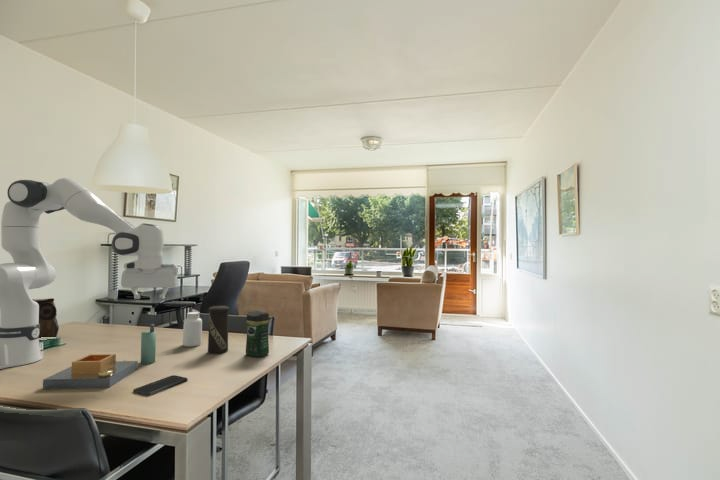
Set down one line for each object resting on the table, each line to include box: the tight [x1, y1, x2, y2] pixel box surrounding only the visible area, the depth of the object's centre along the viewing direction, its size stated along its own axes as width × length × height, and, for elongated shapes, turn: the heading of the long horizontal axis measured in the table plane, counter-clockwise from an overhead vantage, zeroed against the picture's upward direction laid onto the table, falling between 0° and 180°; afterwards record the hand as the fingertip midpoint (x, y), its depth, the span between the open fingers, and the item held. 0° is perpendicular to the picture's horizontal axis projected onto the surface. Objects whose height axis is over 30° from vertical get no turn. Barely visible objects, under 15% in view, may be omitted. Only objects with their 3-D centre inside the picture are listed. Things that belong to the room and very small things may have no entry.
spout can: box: [140, 323, 157, 365], centre depth 143 cm, size 5×5×15 cm
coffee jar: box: [245, 310, 270, 358], centre depth 155 cm, size 10×8×19 cm
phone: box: [132, 374, 189, 397], centre depth 119 cm, size 8×1×15 cm
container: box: [207, 305, 230, 355], centre depth 159 cm, size 9×9×20 cm
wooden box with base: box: [42, 353, 139, 390], centre depth 125 cm, size 20×18×7 cm
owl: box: [31, 297, 60, 338], centre depth 177 cm, size 13×13×20 cm
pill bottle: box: [182, 311, 203, 347], centre depth 170 cm, size 8×8×15 cm
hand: (149, 298), depth 144 cm, fingers open, 8 cm apart
